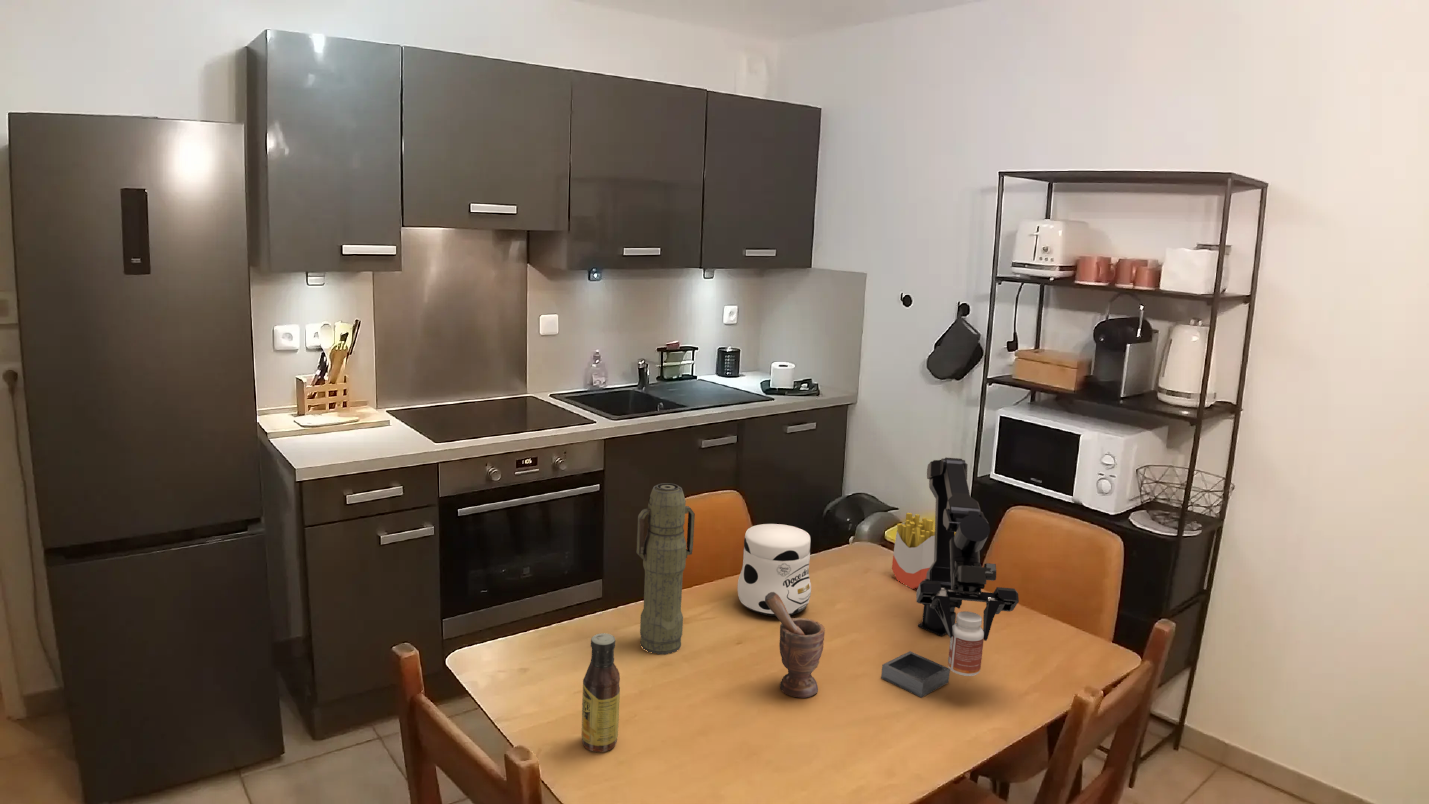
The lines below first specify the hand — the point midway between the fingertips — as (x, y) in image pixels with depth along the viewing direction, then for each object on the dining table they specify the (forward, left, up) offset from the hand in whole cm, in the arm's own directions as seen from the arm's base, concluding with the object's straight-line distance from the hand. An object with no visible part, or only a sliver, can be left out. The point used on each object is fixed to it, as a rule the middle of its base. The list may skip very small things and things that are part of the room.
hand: (968, 638), depth 173 cm
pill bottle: (-1, +1, -7) cm, 7 cm away
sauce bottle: (-32, -63, -13) cm, 72 cm away
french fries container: (-41, +42, -13) cm, 60 cm away
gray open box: (-11, 0, -13) cm, 17 cm away
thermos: (-54, -31, -13) cm, 63 cm away
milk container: (-53, +3, -13) cm, 54 cm away
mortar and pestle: (-24, -23, -13) cm, 36 cm away
